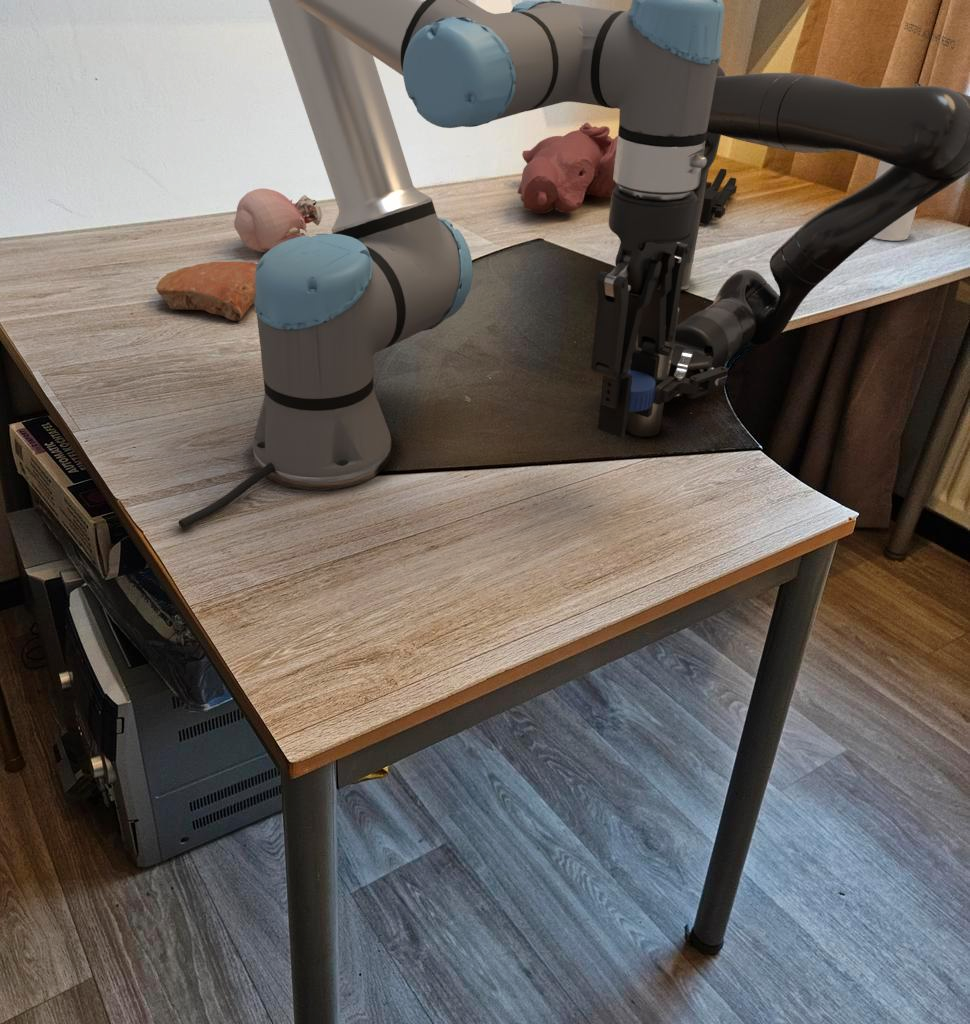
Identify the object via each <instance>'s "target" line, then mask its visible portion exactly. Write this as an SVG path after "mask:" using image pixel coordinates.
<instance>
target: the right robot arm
mask: <svg viewBox="0 0 970 1024" xmlns="http://www.w3.org/2000/svg"><path fill="white" fill-rule="evenodd" d="M721 136H722V137H727V138H730V139H734V140H737V141H741V142H745V143H746V142H747V143H751V144H755V145H760V146H764V147H768V148H772V149H776V150H782V151H788V152H793V153H802V154H803V153H804V154H823V153H828V152H829V153H830V152H831V153H832V152H849V153H853V154H857V155H861V156H864V157H868V158H872V159H874V160H878V161H879V162H880V161H883V162H886V163H889V164H892V165H893V166H892V167H891V168H890V169H889V170H887V171H886V172H885V173H884V174H882V175H881V176H880V177H878V178H877V179H875V178H874V180H873V181H871V182H869V183H868V184H867V185H865V186H863V187H861V188H859V189H858V190H857V191H855V192H853V193H851V194H850V195H848V196H845V197H844V198H842V199H840V200H838V201H836V202H834V203H833V204H831V205H829V206H827V207H825V208H824V209H822V210H821V211H820V212H818V213H816V214H815V215H813V217H811V218H810V219H809V220H807V221H806V222H805V223H804V224H802V226H801V227H800V228H799V229H797V231H795V233H793V234H792V235H791V236H790V237H789V238H788V239H786V241H785V242H784V243H783V244H782V245H781V246H780V247H779V248H778V249H777V250H775V252H774V253H773V254H772V256H771V257H770V259H769V270H770V272H771V275H772V278H773V279H774V281H775V282H776V286H777V288H778V290H779V294H778V293H777V291H776V290H775V289H774V288H773V287H772V286H771V285H770V283H769V282H767V280H766V279H765V278H764V277H763V276H762V275H761V274H760V273H759V272H758V271H755V270H753V269H742V270H739V271H737V272H735V273H733V274H732V275H730V277H729V278H728V279H726V280H725V282H724V283H723V284H722V285H721V287H720V288H719V290H718V292H717V294H716V295H715V298H714V300H713V303H712V304H710V305H709V306H707V307H706V308H705V309H702V310H700V311H697V312H695V313H693V314H692V315H690V316H689V317H687V318H686V319H684V320H683V321H681V322H680V323H677V328H676V334H675V340H674V346H673V352H672V358H671V364H670V370H669V376H668V378H667V379H665V380H664V381H663V382H661V383H660V384H659V385H657V386H656V389H655V396H654V403H655V404H658V405H660V404H661V403H662V402H664V403H668V402H669V401H670V400H672V399H674V398H675V397H681V396H682V394H685V395H686V397H687V398H688V399H690V400H696V399H699V398H701V397H705V396H707V395H710V394H713V393H715V392H716V393H717V392H719V391H721V390H724V389H725V386H726V383H727V378H728V373H729V368H728V367H726V366H724V365H725V364H726V363H728V362H729V360H731V359H732V358H733V356H734V355H735V354H737V352H738V351H740V350H741V349H742V348H743V347H745V346H746V345H747V344H748V343H750V344H752V345H756V346H761V345H766V344H769V343H771V342H774V341H775V340H776V339H777V338H778V337H780V335H781V334H782V333H783V332H784V330H785V329H786V328H787V326H788V324H789V323H790V321H791V320H792V318H793V316H794V315H795V313H796V311H797V310H798V308H799V307H800V305H801V304H802V302H803V301H804V300H805V299H806V297H808V295H809V294H810V292H811V291H813V290H814V289H815V288H816V286H818V285H819V284H820V283H821V282H822V281H823V280H824V279H826V278H827V277H828V276H829V275H830V274H832V273H833V272H834V271H835V270H836V269H837V268H839V266H841V264H842V263H844V262H845V261H846V260H847V259H848V258H849V257H850V256H852V255H853V254H854V253H856V251H858V250H859V249H860V248H861V247H863V246H864V245H865V244H867V243H868V242H869V241H870V240H872V239H874V236H876V235H877V234H878V233H880V232H881V231H882V230H884V229H885V228H886V227H888V226H889V225H891V224H892V223H893V222H895V221H896V220H898V219H899V218H901V217H902V216H904V215H905V214H907V213H908V212H909V211H911V210H912V209H914V208H915V207H917V208H918V206H920V205H921V204H923V203H924V202H926V201H927V200H928V199H930V198H932V197H934V196H935V195H937V194H938V193H940V192H942V191H943V190H945V189H946V188H947V187H949V186H950V185H953V184H954V183H956V182H957V181H958V180H960V179H961V178H963V177H964V176H966V175H967V174H969V173H970V95H968V94H965V93H962V92H959V91H956V90H954V89H952V88H948V87H944V86H939V85H921V86H917V85H915V86H883V87H882V86H881V87H880V86H879V87H876V86H875V87H874V86H862V85H858V84H853V83H850V82H847V81H843V80H839V79H835V78H831V77H824V76H820V75H819V76H818V75H812V74H802V73H792V72H760V73H759V72H758V73H746V74H736V75H726V73H725V71H724V70H723V68H722V67H721V66H720V65H719V64H718V69H717V75H716V81H715V87H714V93H713V99H712V104H711V110H710V116H709V122H708V128H707V137H706V140H705V141H706V142H705V149H704V155H703V156H704V157H706V159H707V163H706V166H705V167H704V168H701V175H700V181H699V186H698V187H697V188H696V189H694V190H693V192H694V193H695V195H696V196H697V204H696V211H695V217H694V224H693V230H692V233H691V234H690V236H689V237H687V238H686V239H684V240H682V241H678V242H681V243H685V244H689V245H690V251H689V254H688V258H687V261H686V264H685V268H684V274H683V280H682V287H681V292H684V291H686V290H688V289H689V288H690V285H691V276H692V270H693V264H694V259H695V254H696V249H697V248H696V247H697V242H698V235H699V231H700V225H701V224H700V218H701V212H702V207H703V201H704V194H705V188H706V182H708V176H709V172H710V168H711V166H712V165H713V164H714V162H715V159H716V157H717V154H718V150H719V146H720V140H721ZM636 343H637V338H636V342H635V346H634V350H636ZM634 350H633V351H634ZM630 367H631V363H630ZM630 367H629V370H630Z"/></svg>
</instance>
